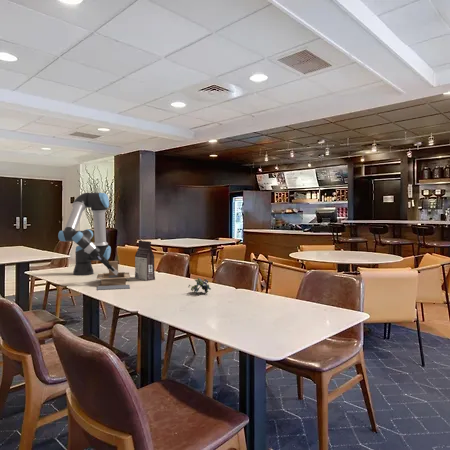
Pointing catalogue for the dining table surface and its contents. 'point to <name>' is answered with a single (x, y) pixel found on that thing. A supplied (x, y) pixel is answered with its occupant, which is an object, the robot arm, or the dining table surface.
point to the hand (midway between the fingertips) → (117, 273)
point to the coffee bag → (144, 262)
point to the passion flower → (201, 283)
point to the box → (115, 265)
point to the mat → (113, 287)
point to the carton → (113, 279)
